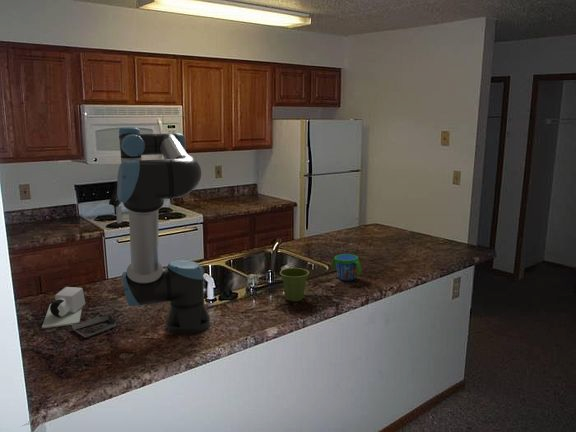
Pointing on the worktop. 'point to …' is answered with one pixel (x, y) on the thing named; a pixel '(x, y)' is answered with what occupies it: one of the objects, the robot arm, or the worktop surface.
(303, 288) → the plant pot
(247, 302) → the worktop surface
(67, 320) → the rubber mat
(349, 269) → the snack cup
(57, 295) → the medicine bottle
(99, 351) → the worktop surface
